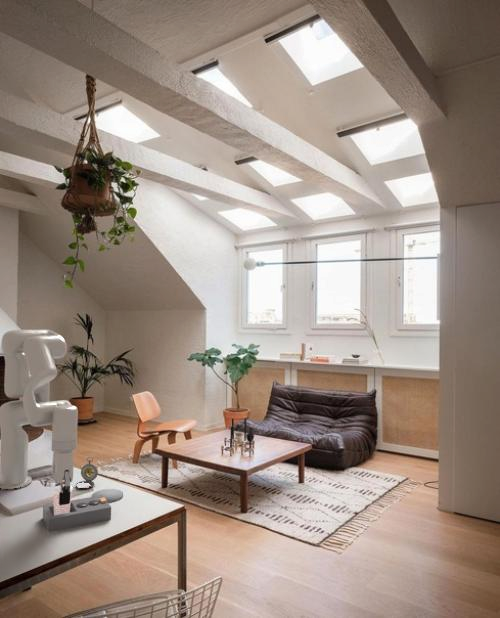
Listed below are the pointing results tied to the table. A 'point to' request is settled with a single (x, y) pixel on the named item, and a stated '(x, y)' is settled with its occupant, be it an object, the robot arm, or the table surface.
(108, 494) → the slate mat
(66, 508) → the beverage cup
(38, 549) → the table surface
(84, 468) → the pocket watch
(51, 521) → the gray desk organizer
